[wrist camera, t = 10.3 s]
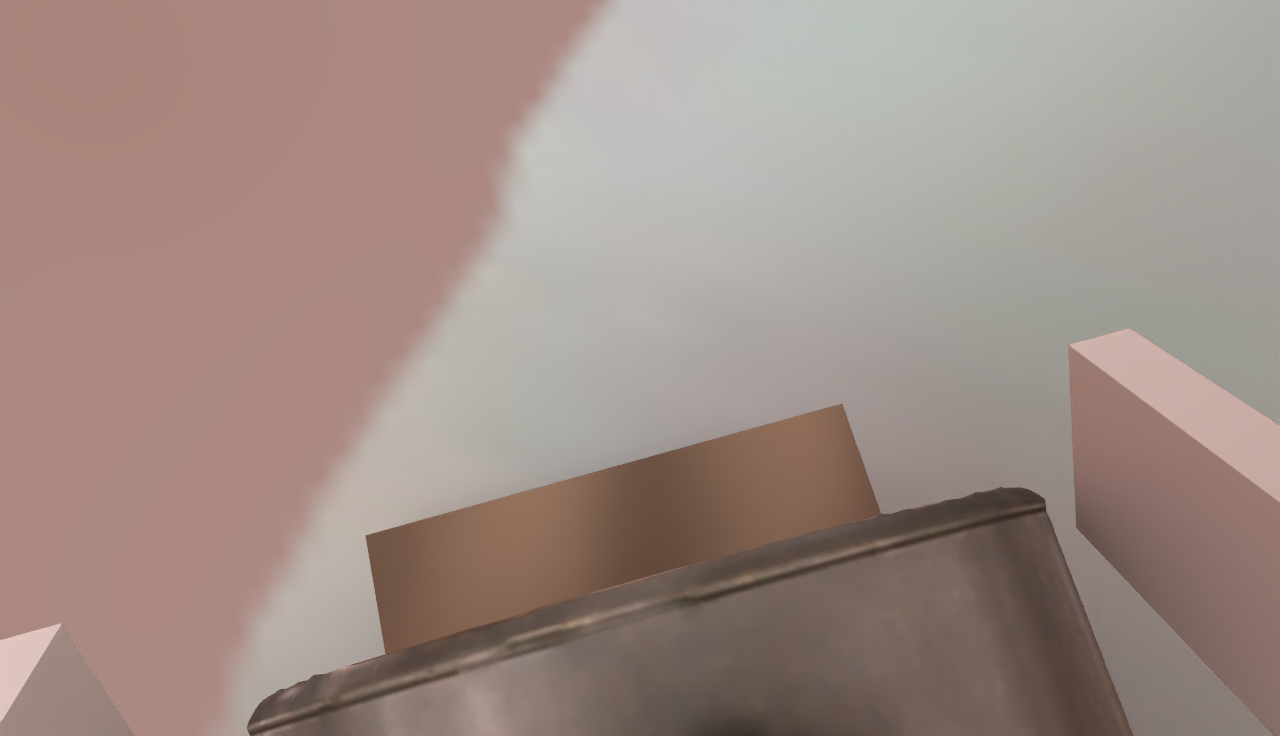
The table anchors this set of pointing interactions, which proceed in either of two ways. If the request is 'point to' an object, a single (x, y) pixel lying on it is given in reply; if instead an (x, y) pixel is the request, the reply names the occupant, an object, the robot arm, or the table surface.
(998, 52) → the table surface
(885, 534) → the alarm clock
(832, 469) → the walnut stand
